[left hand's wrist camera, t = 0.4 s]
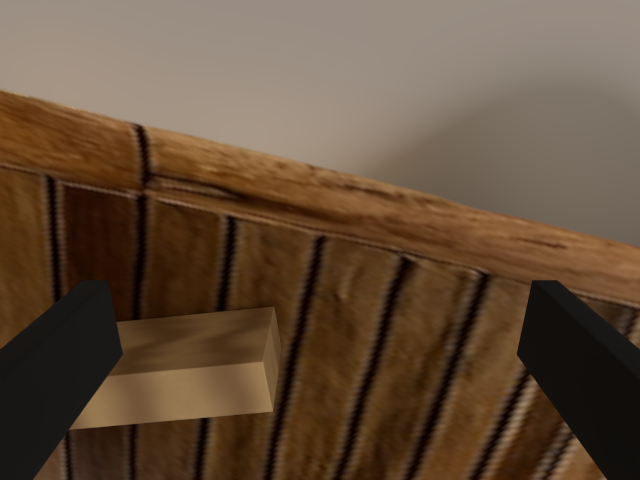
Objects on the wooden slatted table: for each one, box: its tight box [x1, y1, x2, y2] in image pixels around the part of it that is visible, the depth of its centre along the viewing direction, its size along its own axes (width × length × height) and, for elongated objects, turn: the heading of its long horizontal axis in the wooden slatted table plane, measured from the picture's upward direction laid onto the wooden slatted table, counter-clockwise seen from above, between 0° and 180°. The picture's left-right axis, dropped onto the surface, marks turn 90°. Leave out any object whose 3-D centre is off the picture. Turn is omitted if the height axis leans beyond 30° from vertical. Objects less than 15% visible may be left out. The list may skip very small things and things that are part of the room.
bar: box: [69, 306, 282, 430], centre depth 40 cm, size 23×5×9 cm, turn 97°
